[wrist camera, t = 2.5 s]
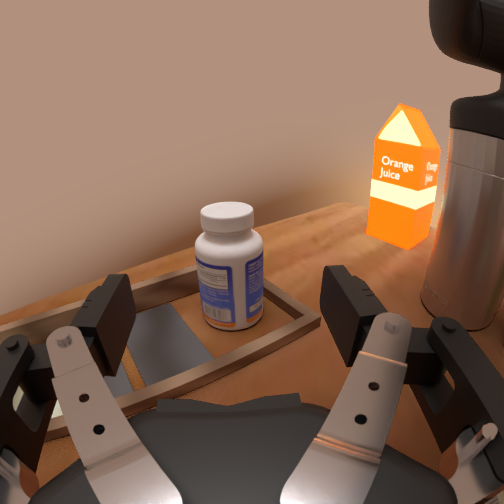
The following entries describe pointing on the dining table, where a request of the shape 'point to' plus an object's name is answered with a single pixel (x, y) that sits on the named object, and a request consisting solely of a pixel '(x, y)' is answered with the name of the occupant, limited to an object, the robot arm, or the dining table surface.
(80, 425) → the robot arm
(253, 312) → the pill bottle
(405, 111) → the orange juice
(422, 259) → the dining table surface
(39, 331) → the tray
